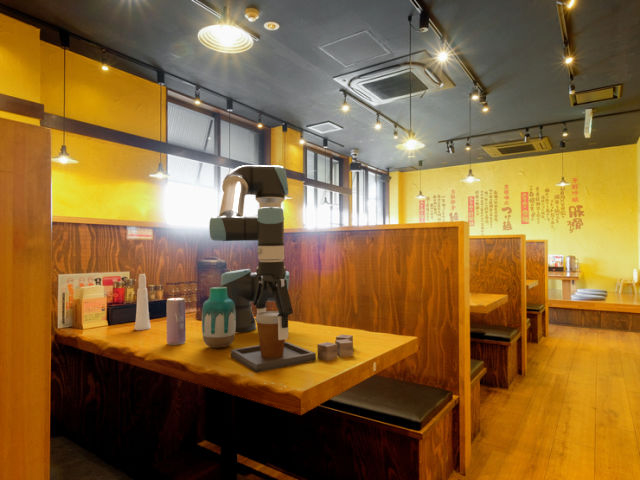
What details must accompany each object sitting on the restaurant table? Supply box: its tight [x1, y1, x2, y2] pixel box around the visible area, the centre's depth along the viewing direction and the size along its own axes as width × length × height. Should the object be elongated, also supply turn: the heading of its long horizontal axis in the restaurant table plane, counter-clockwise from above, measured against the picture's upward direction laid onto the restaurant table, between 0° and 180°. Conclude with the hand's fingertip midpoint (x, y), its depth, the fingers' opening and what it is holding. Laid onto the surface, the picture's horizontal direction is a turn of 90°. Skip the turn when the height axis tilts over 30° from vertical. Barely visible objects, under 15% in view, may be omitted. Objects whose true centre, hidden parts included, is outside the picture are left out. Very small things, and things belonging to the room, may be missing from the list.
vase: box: [201, 286, 236, 349], centre depth 126 cm, size 11×11×19 cm
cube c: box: [335, 334, 354, 343], centre depth 121 cm, size 4×4×4 cm
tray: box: [230, 340, 317, 373], centre depth 112 cm, size 18×18×2 cm
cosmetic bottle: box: [134, 273, 152, 331], centre depth 157 cm, size 6×6×22 cm
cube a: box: [316, 341, 338, 362], centre depth 111 cm, size 4×4×4 cm
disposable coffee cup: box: [254, 310, 286, 358], centre depth 112 cm, size 10×10×12 cm
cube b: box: [334, 339, 354, 358], centre depth 115 cm, size 4×4×4 cm
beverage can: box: [166, 297, 187, 346], centre depth 132 cm, size 6×6×15 cm
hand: (272, 334), depth 112 cm, fingers open, 13 cm apart
